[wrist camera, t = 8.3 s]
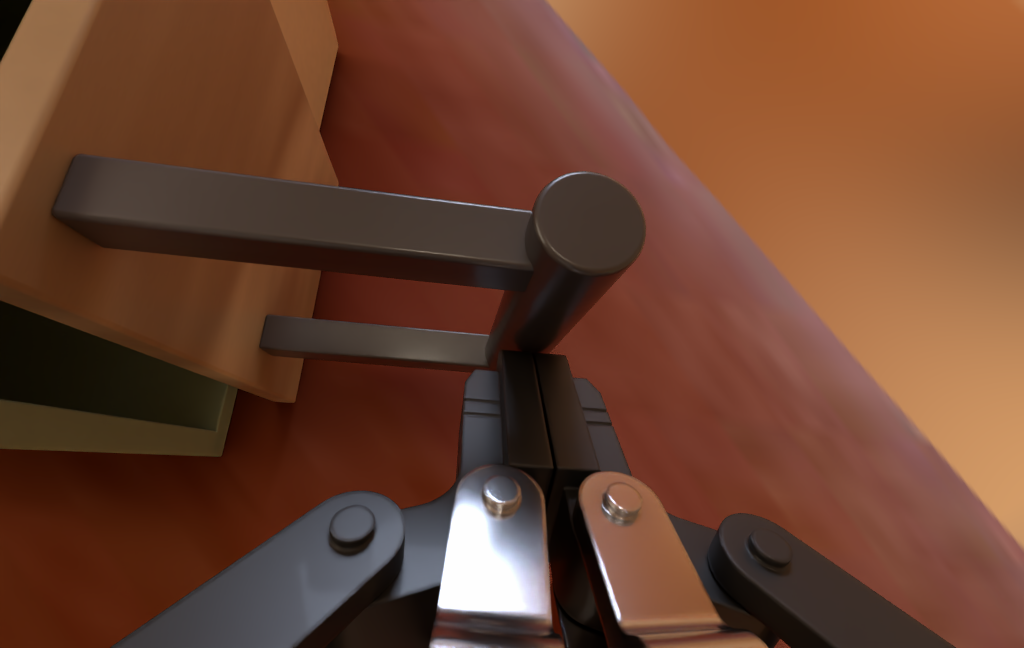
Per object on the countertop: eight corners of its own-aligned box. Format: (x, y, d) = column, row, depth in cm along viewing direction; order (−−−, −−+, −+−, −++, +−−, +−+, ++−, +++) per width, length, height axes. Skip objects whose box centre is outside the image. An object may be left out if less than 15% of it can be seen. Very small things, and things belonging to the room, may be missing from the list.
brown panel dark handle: (271, 401, 16) (-133, 255, 5) (319, 180, 19) (134, -241, 7) (516, 419, 17) (652, 331, 6) (527, 206, 20) (634, -131, 8)
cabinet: (-118, 437, 14) (-2336, 327, 3) (80, 9, 20) (-418, -612, 8) (250, 458, 15) (-283, 440, 4) (340, 50, 21) (217, -439, 10)
